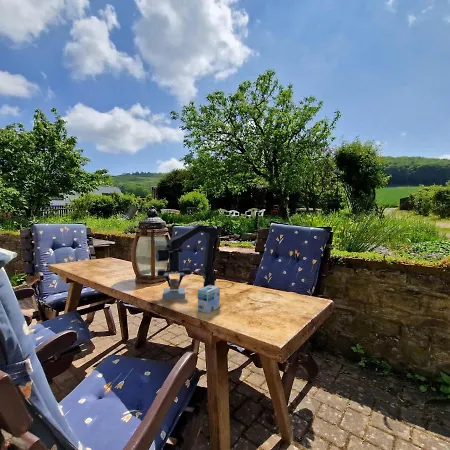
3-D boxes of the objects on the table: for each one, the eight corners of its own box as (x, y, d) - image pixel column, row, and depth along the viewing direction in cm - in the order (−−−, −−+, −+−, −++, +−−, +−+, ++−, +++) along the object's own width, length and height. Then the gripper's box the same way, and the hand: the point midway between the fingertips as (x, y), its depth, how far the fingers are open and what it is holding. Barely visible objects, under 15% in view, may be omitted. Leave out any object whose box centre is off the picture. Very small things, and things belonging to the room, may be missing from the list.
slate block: (184, 292, 160) (184, 287, 159) (185, 298, 148) (185, 293, 148) (163, 293, 157) (163, 288, 157) (163, 300, 145) (163, 294, 145)
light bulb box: (208, 313, 125) (208, 291, 125) (197, 310, 129) (197, 289, 128) (220, 307, 134) (220, 286, 134) (209, 304, 138) (209, 284, 137)
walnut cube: (178, 287, 155) (178, 278, 155) (178, 289, 150) (178, 280, 150) (169, 287, 154) (169, 279, 154) (169, 289, 149) (169, 281, 149)
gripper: (189, 257, 161) (189, 282, 162) (158, 258, 158) (158, 283, 158) (190, 260, 150) (190, 287, 151) (157, 261, 147) (157, 288, 147)
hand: (174, 286), depth 152 cm, fingers closed on walnut cube, 5 cm apart
